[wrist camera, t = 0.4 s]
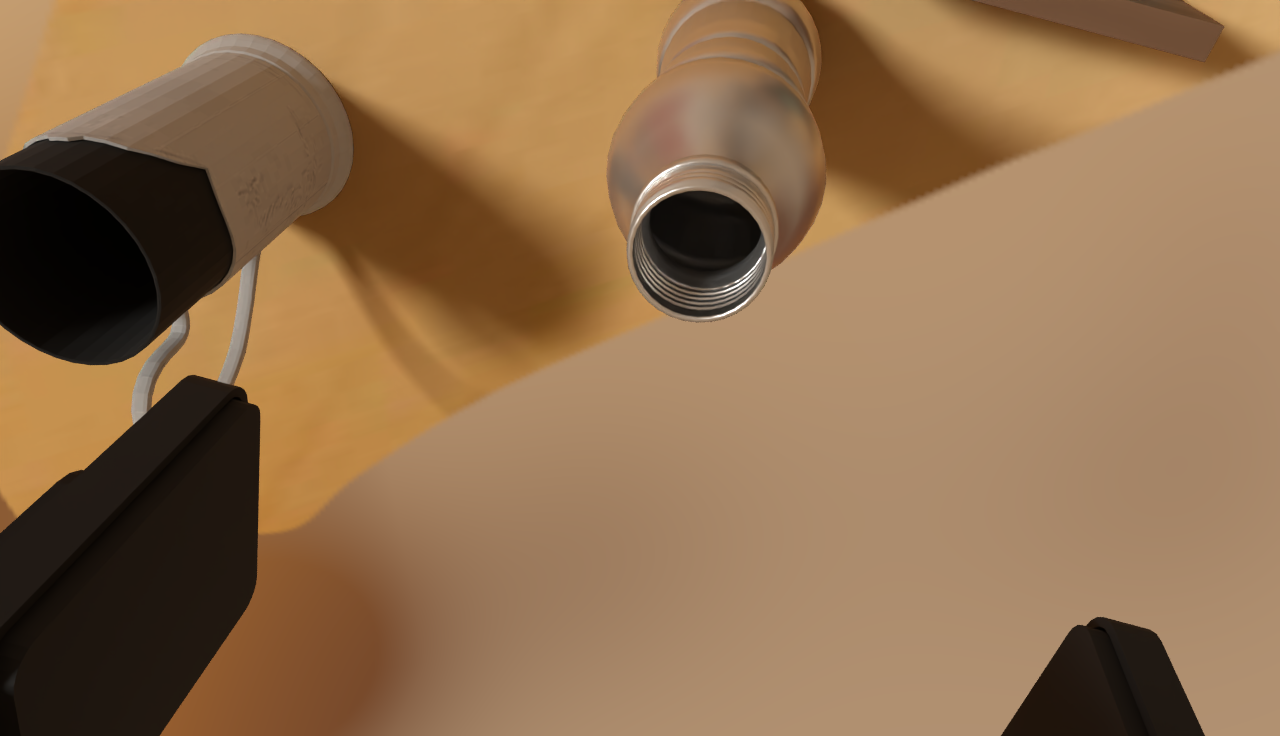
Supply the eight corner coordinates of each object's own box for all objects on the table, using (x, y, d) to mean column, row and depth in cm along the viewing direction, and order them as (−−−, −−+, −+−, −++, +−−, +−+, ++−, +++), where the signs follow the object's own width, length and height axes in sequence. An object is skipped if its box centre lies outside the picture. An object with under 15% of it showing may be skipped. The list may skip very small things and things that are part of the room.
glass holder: (333, 35, 42) (133, 150, 29) (386, 317, 49) (245, 505, 37) (150, 32, 43) (-119, 142, 30) (229, 308, 50) (39, 488, 38)
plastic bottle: (841, -19, 38) (873, 152, 21) (795, 143, 41) (792, 398, 25) (682, -54, 38) (589, 88, 21) (651, 110, 42) (551, 342, 25)
